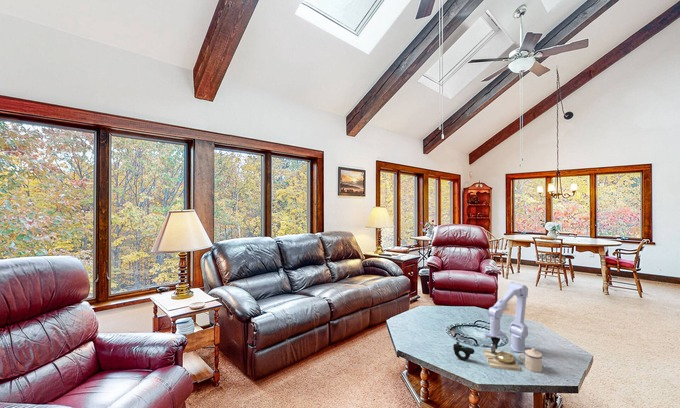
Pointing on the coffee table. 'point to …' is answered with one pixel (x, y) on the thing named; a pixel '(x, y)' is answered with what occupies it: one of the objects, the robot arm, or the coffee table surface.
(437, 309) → the coffee table surface
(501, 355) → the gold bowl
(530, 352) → the teacup with lid
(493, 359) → the slatted wooden board
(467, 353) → the controller
